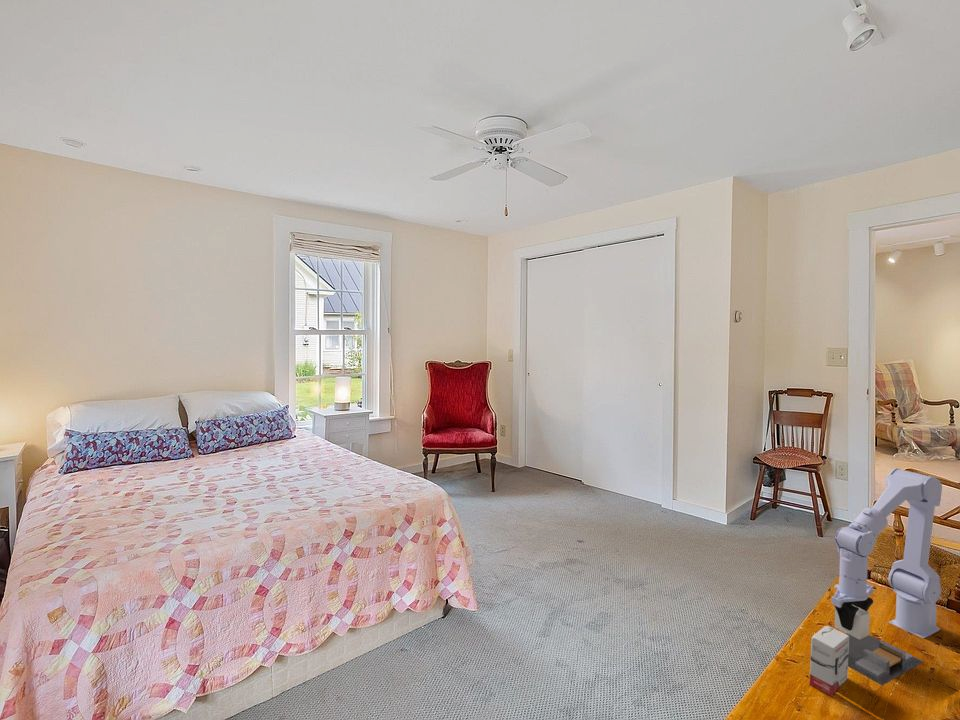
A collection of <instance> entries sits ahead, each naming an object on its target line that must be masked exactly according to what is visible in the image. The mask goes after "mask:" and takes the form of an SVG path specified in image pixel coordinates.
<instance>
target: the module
mask: <svg viewBox="0 0 960 720" xmlns="http://www.w3.org/2000/svg"><path fill="white" fill-rule="evenodd" d="M853 606H854V605H853ZM855 607H856V606H855ZM857 608H858V607H857ZM870 618H871V617H870V612H869V611H868V610H867V611H865V610H863V609H861V608H859V609H858V611H857V612H856V614H855V617H854V622H853V627H852V630H847V629H845V628H843V627H842V626H841V623H840V619H839V615H838V612H837V610H836V608H835V607H834V628H835V629H837V630H839V631H841V632H843V633H845V634H847V633H848V634H850V635H852V636H854V637H855V638H857V639H859V640H860V639H862V638H864V637H866V636H868V635H870Z"/></svg>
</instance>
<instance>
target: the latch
mask: <svg viewBox="0 0 960 720" xmlns="http://www.w3.org/2000/svg"><path fill="white" fill-rule="evenodd" d="M872 652H874V653H876V654H878V655H879V656H881V657H883V658H885V659H887V660H889V661H890V667H891V666H892V665H894V664H896V663H898V662H900V661H901V658H899V657H897V656H895V655H893V654H891V653H889V652H887V651H885V650H883V649H881V648H878V649H876V650H874V651H872Z"/></svg>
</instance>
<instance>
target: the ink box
mask: <svg viewBox="0 0 960 720" xmlns="http://www.w3.org/2000/svg"><path fill="white" fill-rule="evenodd" d="M810 639H811V643H810V667H809V682H808V683H809V686H812V687H813V688H816V689H817V690H819V691H821V692H823V693H825V694H827V695H828V696H830V697H832V696H834V695H835V694H836V693H837V692H838V691H837V689H839V687H841V686H842V685H843V684H844V683H845V681H847V680H848V675H849V674H848V671H849V670H848V669H849V667H848V654H849V635H847V633H846V632H843V631H841V630H839V629H837V628H835V627H831V626H829V625H825V626H824V627H822V628H820V629H819V630H818V631H817V632H815V633H814V634H813V635H812V637H811V638H810Z"/></svg>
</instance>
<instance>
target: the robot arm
mask: <svg viewBox="0 0 960 720" xmlns="http://www.w3.org/2000/svg"><path fill="white" fill-rule="evenodd" d="M885 478H886V479H885V487H886V488H885V489H884V491H882V493H881V495H880V496H879V497H878V499H877V500H876V502H875V503H874V504H873V506H872V507H865V508H863V509H862V511H861V512H860V513H859V514H858V515H857V516H856V517H855V518H854V519H853V520H852V521H851V523H850V524H848V526H843V527H842V526H841V527H840V528H839V529H837V531H836V533H835V537H834V539H833V540H834V544H835V545H836V547H837V553H838V555H839V572H838V573H839V574H838V575H839V576H838V577H839V578H838V579H839V580H838V582H839V583H837V584H836V583H835V585H834V589H836V591H835V593H834V595H833V596H831V605H833V606H834V609H835V608H836V610H837V612H838V615H839V619H840V623H841V626H842V627H843V628H845V629H847V630H852V627H853V622H854V617H855V614H856V612H857V611H858V609H859V608H861V609H863V610H865V611H867V612H868V611H869V609H870V608H871V606H872V605H873V604H874V599H873V598H871V597H869V595H872V594H873V593H874V585H871V584H868V563H869V562H868V560H869V559H868V558H869V555H870V554H872V553H873V551H874V548H875V544H876V543H877V537H878V536H879V535H880V534H881V533H882V532H883V530H885V528H886V527H887V526H888V525H889V524H888V523H889V522H888V517H889V516H890V515H891V514H892V513H893V512H894V511H895V510H896V509H898V508H899V507H900V506H901V505H902V504H903V503H904V502H905V501H906V502H907V503H908V504H909V507H908V515H907V516H908V517H907V526H906V535H905V540H904V541H905V542H904V543H905V544H904V551H903V559H898V560H896V561H894V562H892V566H891V569H890V571H889V574H888V583H889V586H890V588H893V593H895V594H896V599H895V602H896V603H895V618H894V619H892V620H890V621H888V623H889V624H891V625H894V626H895V627H897V628H900V629H902V630H904V631H907V632H909V633H910V634H914V635H915V636H918V637H920V638H922V639H926V638H928V637H930V636H932V635H933V634H936V633H937V632H939V631H941V628H940V627H938V626H937V604H936V603H937V602H938V600H939V599H940V597H941V593H942V586H941V579H940V575H939V574H938V573H937V572H936V571H935V570H934V569H933V568H932V567H931V566H930V565H929V559H930V551H931V550H930V549H931V542H932V541H931V540H932V534H933V525H934V516H935V508H936V507H940V505H941V500H942V493H943V492H942V491H943V484H942V483H941V481H940V480H939V479H938V478H937V477H935V476H929V475H926V474H921V473H917V472H913V471H909V470H904V469H901V468H898V467H895V468H893V469H891V471H890V472H888V474H887V476H886V477H885ZM853 605H854V606H853ZM855 606H856V607H855ZM857 607H858V608H857Z"/></svg>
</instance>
